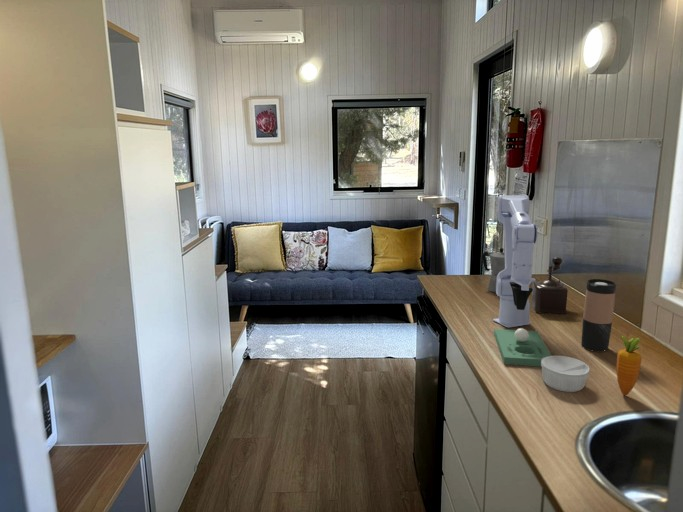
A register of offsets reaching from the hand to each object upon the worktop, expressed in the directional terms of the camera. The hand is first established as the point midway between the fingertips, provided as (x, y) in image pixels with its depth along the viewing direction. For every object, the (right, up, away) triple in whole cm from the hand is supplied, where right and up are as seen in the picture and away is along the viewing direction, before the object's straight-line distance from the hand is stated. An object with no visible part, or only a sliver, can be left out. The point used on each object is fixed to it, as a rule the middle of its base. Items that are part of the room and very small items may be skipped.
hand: (519, 307), depth 151 cm
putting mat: (-1, -12, -6) cm, 13 cm away
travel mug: (+21, -12, -4) cm, 24 cm away
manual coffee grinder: (+22, -4, +33) cm, 40 cm away
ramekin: (+1, -17, -26) cm, 31 cm away
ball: (-1, -8, -5) cm, 9 cm away
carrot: (+13, -18, -33) cm, 40 cm away
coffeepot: (+11, +1, +56) cm, 57 cm away
